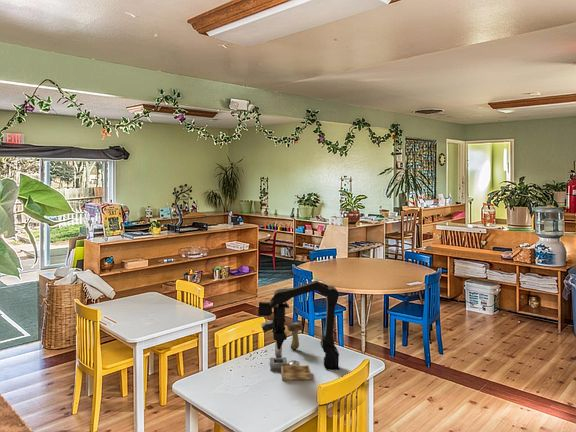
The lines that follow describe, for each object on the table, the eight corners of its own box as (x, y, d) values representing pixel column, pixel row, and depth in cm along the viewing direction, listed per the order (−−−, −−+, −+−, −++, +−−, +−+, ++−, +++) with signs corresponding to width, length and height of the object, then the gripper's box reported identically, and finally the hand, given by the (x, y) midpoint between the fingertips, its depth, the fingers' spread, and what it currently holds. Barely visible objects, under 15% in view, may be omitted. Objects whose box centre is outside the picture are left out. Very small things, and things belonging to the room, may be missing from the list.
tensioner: (298, 363, 220) (298, 357, 220) (300, 370, 212) (300, 364, 212) (269, 363, 219) (269, 357, 219) (270, 370, 211) (270, 364, 211)
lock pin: (282, 355, 217) (282, 335, 216) (282, 358, 213) (283, 338, 212) (274, 355, 217) (274, 335, 216) (274, 358, 213) (274, 338, 212)
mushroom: (296, 354, 231) (296, 326, 229) (282, 350, 236) (283, 323, 234) (306, 349, 238) (307, 322, 237) (293, 345, 243) (294, 318, 242)
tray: (308, 371, 211) (308, 365, 211) (311, 380, 202) (311, 373, 202) (280, 371, 210) (281, 365, 210) (282, 380, 201) (282, 374, 201)
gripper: (262, 310, 222) (261, 340, 223) (263, 322, 203) (262, 355, 204) (284, 310, 223) (283, 340, 224) (287, 322, 204) (286, 355, 205)
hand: (278, 347), depth 214 cm, fingers closed on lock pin, 3 cm apart
